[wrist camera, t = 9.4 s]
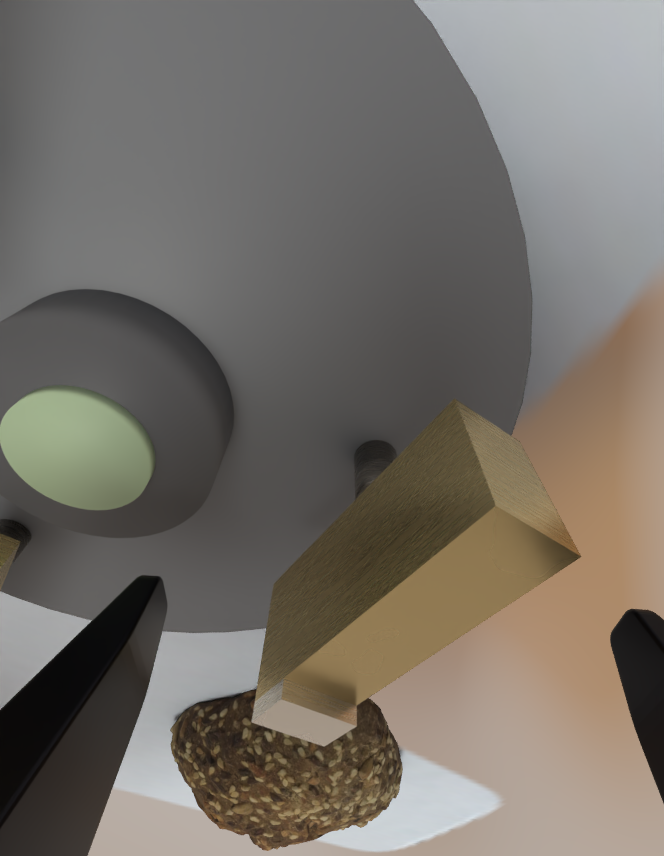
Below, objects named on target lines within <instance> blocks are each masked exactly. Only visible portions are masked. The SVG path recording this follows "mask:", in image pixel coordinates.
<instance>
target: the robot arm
mask: <svg viewBox="0 0 664 856" xmlns="http://www.w3.org/2000/svg"><path fill="white" fill-rule="evenodd" d="M167 607H168V603H167V597H166V592H165V588H164V583H163V580H162V578H161V577H160V576H151V575H141V576H139V577H137V578H136V579H135V580H134V581H132V582H131V583H130V584H129V585H128V586H127V587H126V588H125V589H124V590H123V591H122V592H121V593H120V594H119V595H118V596H117V597H116V598H115V599H114V600H113V601H112V602H111V603H110V604H109V605H108V606H107V607H106V608H105V609H104V610H103V611H102V612H101V613H100V614H98V615H97V616H96V617H95V618H94V619H93V620H92V621H91V622H90V623H89V624H88V625H87V626H86V627H85V628H84V629H83V630H82V631H81V632H80V633H79V634H78V635H77V636H76V637H75V638H74V639H73V640H72V641H71V642H70V643H69V644H68V645H67V646H66V647H64V648H63V649H62V650H61V651H60V652H59V653H58V654H57V655H56V656H55V657H54V658H53V659H52V660H51V661H50V662H49V663H48V664H47V665H46V666H45V667H44V668H43V669H42V670H41V671H40V672H39V673H38V674H37V675H36V676H35V677H34V678H33V679H32V680H30V681H29V682H28V683H27V684H26V685H25V686H24V687H23V688H22V689H21V690H20V691H19V692H18V693H17V694H16V695H15V696H14V697H13V698H12V699H11V700H10V701H9V702H8V703H7V704H6V705H5V706H4V707H3V708H2V709H1V710H0V856H87V855H88V852H89V850H90V847H91V845H92V842H93V839H94V836H95V834H96V831H97V828H98V826H99V823H100V820H101V817H102V814H103V812H104V809H105V806H106V804H107V801H108V798H109V796H110V793H111V790H112V787H113V785H114V782H115V779H116V776H117V774H118V771H119V768H120V766H121V763H122V760H123V757H124V755H125V752H126V749H127V746H128V744H129V741H130V738H131V736H132V733H133V730H134V727H135V725H136V722H137V719H138V716H139V714H140V711H141V708H142V705H143V702H144V699H145V696H146V693H147V689H148V685H149V682H150V678H151V674H152V670H153V666H154V662H155V658H156V654H157V650H158V646H159V642H160V638H161V634H162V630H163V626H164V622H165V618H166V614H167ZM610 641H611V647H612V651H613V654H614V658H615V661H616V664H617V668H618V672H619V675H620V679H621V682H622V686H623V689H624V693H625V696H626V700H627V703H628V707H629V711H630V714H631V717H632V720H633V723H634V727H635V730H636V732H637V735H638V738H639V741H640V743H641V746H642V749H643V751H644V753H645V756H646V759H647V761H648V764H649V767H650V769H651V772H652V774H653V777H654V780H655V782H656V785H657V787H658V790H659V793H660V795H661V798H662V800H663V803H664V620H663V619H662V618H661V617H660V616H658V615H657V614H656V613H654V612H652V611H649V610H640V609H630V610H628V611H626V612H625V614H624V615H623V616H622V618H621V619H620V621H619V622H618V624H617V625H616V626H615V628H614V629H613V631H612V632H611V637H610Z"/></svg>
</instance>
